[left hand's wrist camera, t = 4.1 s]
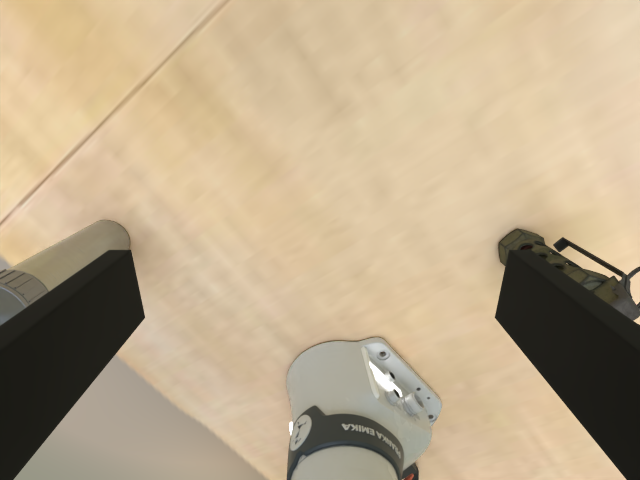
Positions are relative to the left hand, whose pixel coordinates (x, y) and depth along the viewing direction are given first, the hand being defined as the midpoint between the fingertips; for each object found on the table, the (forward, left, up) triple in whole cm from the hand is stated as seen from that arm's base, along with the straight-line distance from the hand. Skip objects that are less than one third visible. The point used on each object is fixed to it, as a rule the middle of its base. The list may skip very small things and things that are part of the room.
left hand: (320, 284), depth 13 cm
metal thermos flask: (+9, -25, -28) cm, 38 cm away
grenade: (+10, +25, -28) cm, 39 cm away
